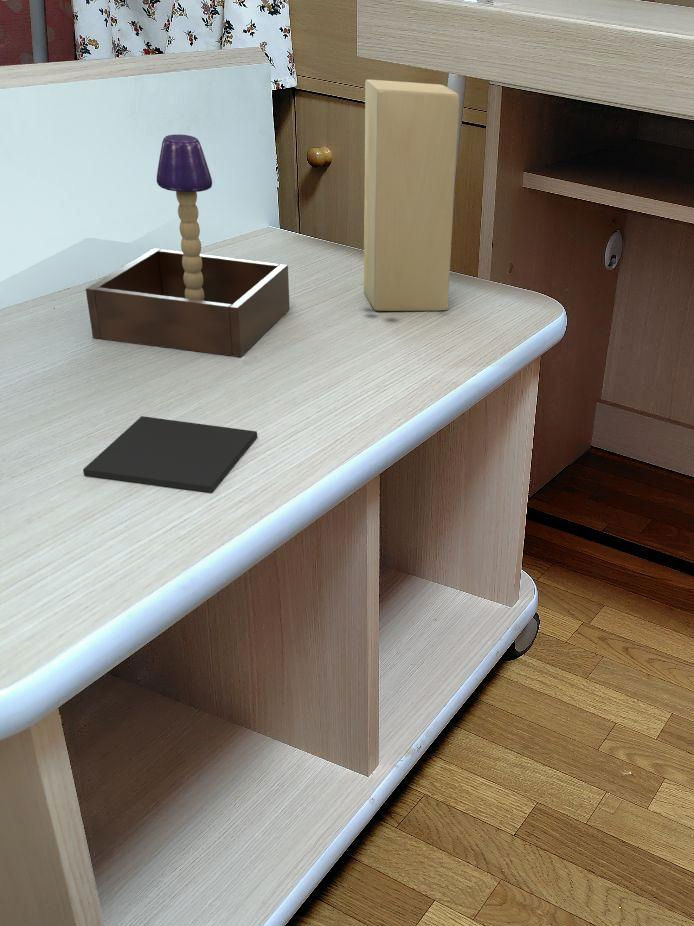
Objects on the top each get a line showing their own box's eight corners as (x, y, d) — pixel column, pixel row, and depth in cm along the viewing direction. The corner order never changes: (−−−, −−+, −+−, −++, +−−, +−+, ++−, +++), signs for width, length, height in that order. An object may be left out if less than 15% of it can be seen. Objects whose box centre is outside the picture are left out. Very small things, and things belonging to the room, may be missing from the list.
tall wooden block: (433, 288, 109) (441, 82, 98) (450, 311, 103) (460, 94, 92) (361, 289, 107) (361, 77, 96) (374, 312, 101) (375, 89, 90)
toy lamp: (233, 325, 94) (219, 140, 85) (189, 335, 91) (171, 144, 82) (204, 310, 97) (188, 129, 88) (160, 320, 93) (140, 133, 85)
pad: (83, 475, 68) (82, 469, 67) (142, 421, 75) (141, 415, 75) (211, 492, 67) (211, 486, 67) (257, 437, 75) (257, 431, 75)
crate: (92, 337, 88) (85, 288, 86) (158, 292, 100) (153, 247, 98) (241, 357, 88) (237, 308, 85) (289, 309, 99) (288, 264, 97)
